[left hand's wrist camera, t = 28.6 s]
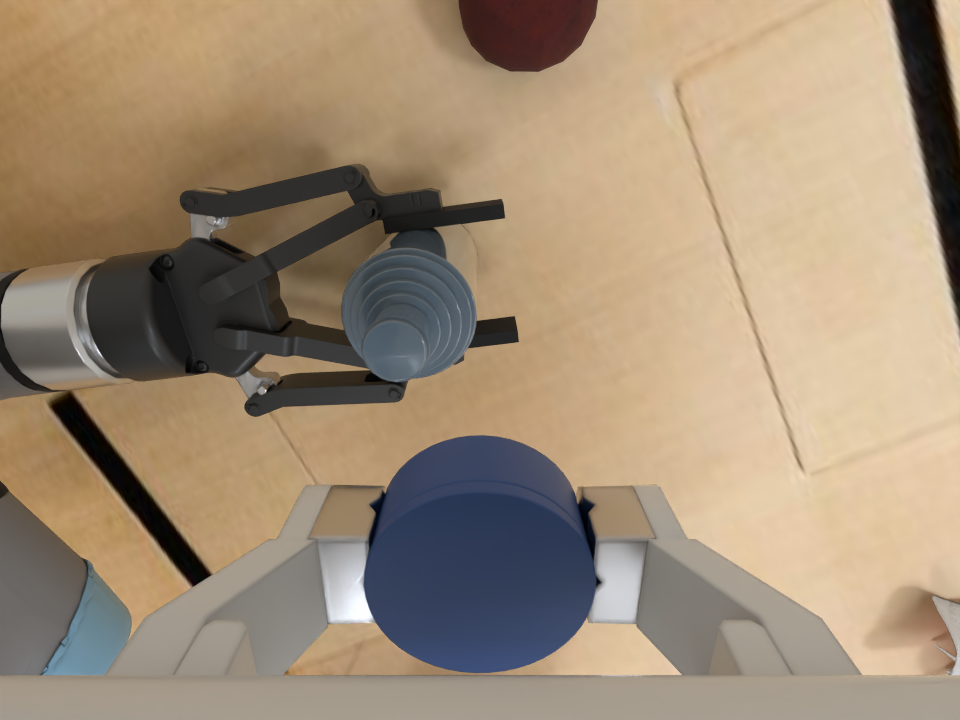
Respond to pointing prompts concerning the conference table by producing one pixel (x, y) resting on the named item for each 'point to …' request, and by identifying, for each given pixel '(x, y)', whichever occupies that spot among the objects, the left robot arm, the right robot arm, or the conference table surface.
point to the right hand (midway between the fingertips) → (509, 270)
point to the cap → (479, 557)
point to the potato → (526, 30)
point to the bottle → (414, 303)
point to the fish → (950, 627)
